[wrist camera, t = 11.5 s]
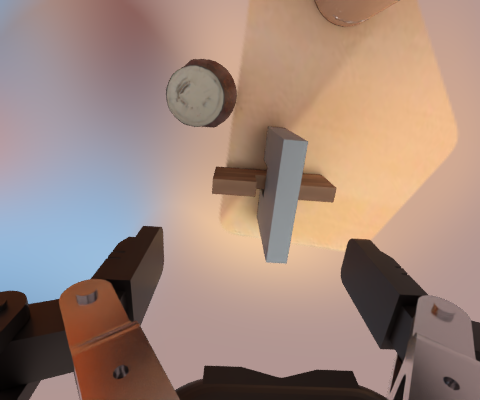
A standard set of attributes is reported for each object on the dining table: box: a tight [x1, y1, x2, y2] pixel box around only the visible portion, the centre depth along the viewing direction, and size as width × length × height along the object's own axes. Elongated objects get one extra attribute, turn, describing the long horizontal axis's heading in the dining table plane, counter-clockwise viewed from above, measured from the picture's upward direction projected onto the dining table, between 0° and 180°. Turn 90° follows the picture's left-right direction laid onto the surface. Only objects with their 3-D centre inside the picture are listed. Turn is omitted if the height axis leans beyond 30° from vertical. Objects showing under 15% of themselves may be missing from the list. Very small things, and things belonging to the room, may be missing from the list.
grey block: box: [257, 127, 308, 263], centre depth 35 cm, size 14×2×13 cm, turn 175°
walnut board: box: [212, 167, 336, 202], centre depth 38 cm, size 2×16×6 cm, turn 85°
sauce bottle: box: [166, 59, 237, 127], centre depth 28 cm, size 7×6×20 cm
